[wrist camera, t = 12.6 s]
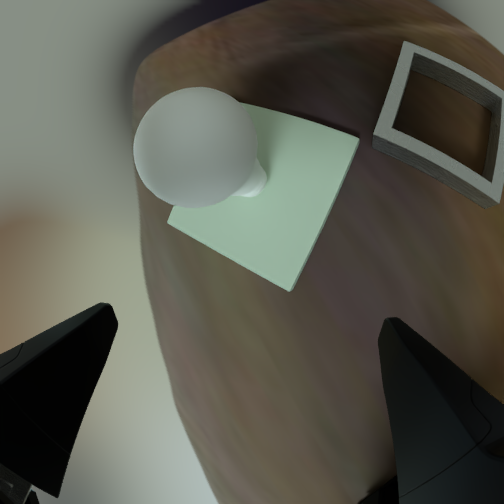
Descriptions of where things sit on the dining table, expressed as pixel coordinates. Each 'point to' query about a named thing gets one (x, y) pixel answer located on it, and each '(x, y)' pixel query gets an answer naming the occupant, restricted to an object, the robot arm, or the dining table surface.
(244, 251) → the green mat
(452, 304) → the dining table surface
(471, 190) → the grey square frame
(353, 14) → the dining table surface
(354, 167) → the dining table surface
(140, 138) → the lightbulb
